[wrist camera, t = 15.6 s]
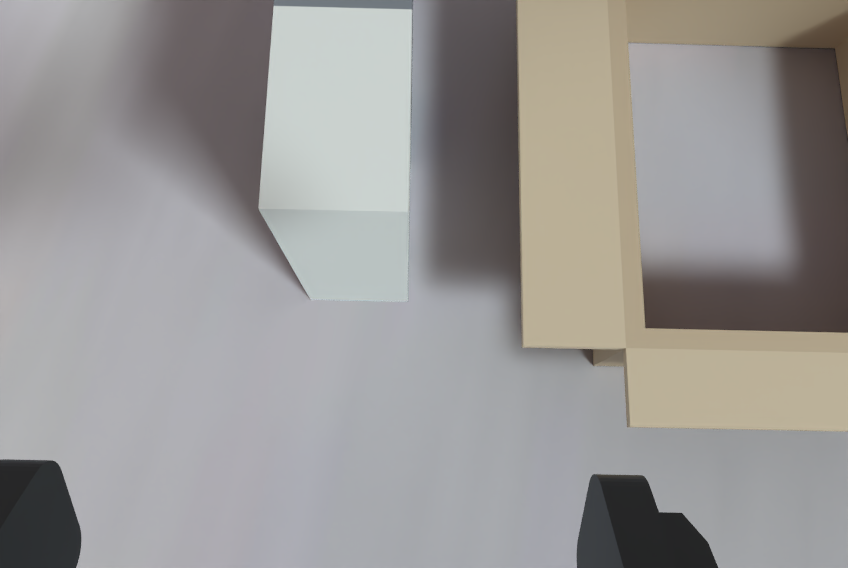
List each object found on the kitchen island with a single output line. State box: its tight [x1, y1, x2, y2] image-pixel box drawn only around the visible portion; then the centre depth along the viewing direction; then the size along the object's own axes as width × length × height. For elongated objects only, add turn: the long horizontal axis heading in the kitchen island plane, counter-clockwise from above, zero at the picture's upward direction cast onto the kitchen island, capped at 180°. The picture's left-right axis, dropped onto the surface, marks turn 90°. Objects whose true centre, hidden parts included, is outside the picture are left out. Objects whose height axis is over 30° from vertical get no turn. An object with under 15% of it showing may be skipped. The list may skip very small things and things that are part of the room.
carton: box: [516, 0, 848, 432], centre depth 32 cm, size 22×24×5 cm
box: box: [258, 0, 413, 302], centre depth 29 cm, size 4×11×12 cm, turn 179°
